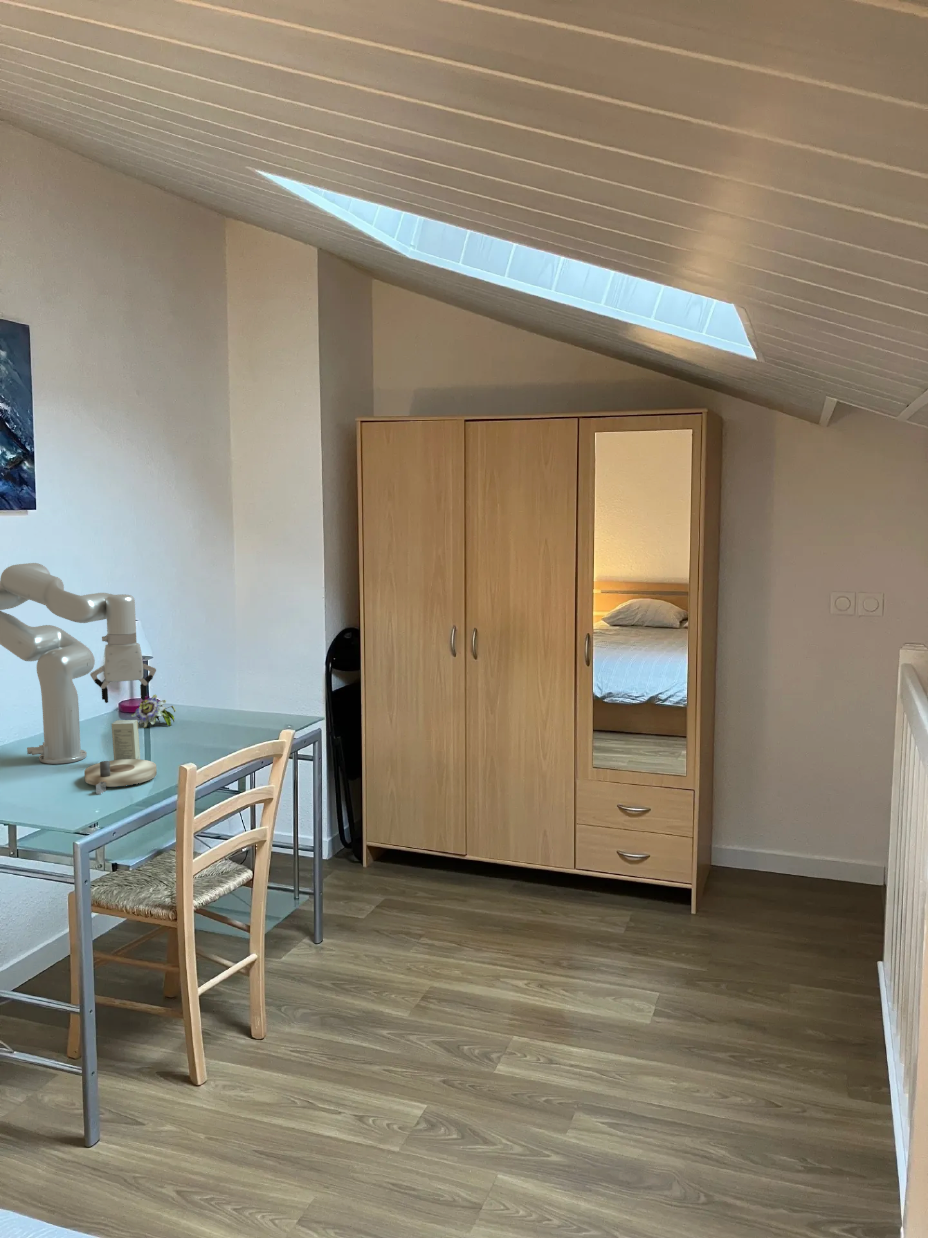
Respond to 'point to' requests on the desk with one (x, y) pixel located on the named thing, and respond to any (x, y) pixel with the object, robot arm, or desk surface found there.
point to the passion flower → (152, 712)
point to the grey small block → (101, 787)
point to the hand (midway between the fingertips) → (124, 700)
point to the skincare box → (125, 739)
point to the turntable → (120, 772)
